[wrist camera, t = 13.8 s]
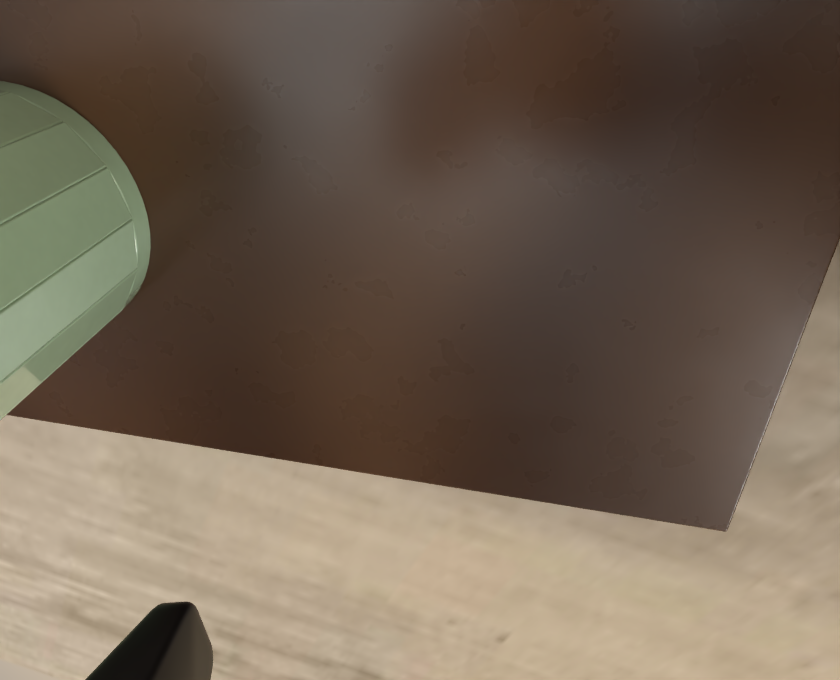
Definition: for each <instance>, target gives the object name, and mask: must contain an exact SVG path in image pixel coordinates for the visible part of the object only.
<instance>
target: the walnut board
mask: <svg viewBox="0 0 840 680" xmlns="http://www.w3.org/2000/svg"><path fill="white" fill-rule="evenodd" d="M0 81H5V82H9V83H14V84H19V85H23V86H26V87H29V88H32V89H35V90H38V91H40V92H42V93H44V94H46V95H49V96H51V97H53V98H55V99H57V100H58V101H60V102H62V103H63V104H65V105H67V106H68V107H70V108H71V109H73V110H74V111H76V112H77V113H78V114H79V115H81V116H82V117H83V118H85V119H86V120H87V121H88V122H90V123H91V124H92V125H93V126H94V127H95V128H96V129H97V130H98V131H99V132H100V133H101V134H102V135H103V136H104V137H105V138H106V139H107V141H108V142H109V143H110V144H111V145H112V146H113V148H114V149H115V150H116V151H117V153H118V154H119V156H120V157H121V158H122V160H123V161H124V163H125V164H126V166H127V167H128V169H129V171H130V173H131V175H132V176H133V178H134V180H135V182H136V184H137V186H138V189H139V191H140V194H141V196H142V199H143V202H144V205H145V209H146V212H147V216H148V221H149V228H150V242H151V249H150V258H149V265H148V268H147V272H146V276H145V278H144V281H143V283H142V285H141V287H140V289H139V291H138V292H137V294H136V295H135V297H134V298H133V300H132V301H131V302H130V303H129V304H128V305H127V306H126V307H125V308H124V309H123V310H122V311H121V312H120V313H119V314H118V315H117V316H116V317H114V318H113V319H112V320H111V321H110V322H109V323H108V324H107V325H106V326H104V327H103V328H102V329H101V330H100V331H99V332H98V333H97V334H96V335H94V336H93V337H92V338H91V339H90V340H89V341H88V342H87V343H86V344H84V345H83V346H82V347H81V348H80V349H79V350H78V351H77V352H76V353H74V354H73V355H72V356H71V357H70V358H69V359H68V360H67V361H66V362H64V363H63V364H62V365H61V366H60V367H59V368H58V369H57V370H56V371H55V372H53V373H52V374H51V375H50V376H49V377H48V378H47V379H46V380H45V381H43V382H42V383H41V384H40V385H39V386H38V387H37V388H36V389H35V390H33V391H32V392H31V393H30V394H29V395H28V396H27V397H26V398H25V399H23V400H22V401H21V402H20V403H19V404H18V405H17V406H16V407H15V408H13V409H12V410H11V411H10V412H9V413H8V414H7V415H11V416H17V417H23V418H29V419H35V420H42V421H48V422H54V423H60V424H66V425H72V426H78V427H85V428H91V429H97V430H103V431H109V432H115V433H122V434H128V435H134V436H140V437H146V438H152V439H159V440H165V441H171V442H177V443H183V444H189V445H195V446H202V447H208V448H214V449H220V450H226V451H232V452H239V453H245V454H251V455H257V456H263V457H269V458H276V459H282V460H288V461H294V462H300V463H306V464H312V465H319V466H325V467H331V468H337V469H343V470H349V471H356V472H362V473H368V474H374V475H380V476H386V477H393V478H399V479H405V480H411V481H417V482H423V483H429V484H436V485H442V486H448V487H454V488H460V489H466V490H473V491H479V492H485V493H491V494H497V495H503V496H509V497H516V498H522V499H528V500H534V501H540V502H546V503H553V504H559V505H565V506H571V507H577V508H583V509H590V510H596V511H602V512H608V513H614V514H620V515H626V516H633V517H639V518H645V519H651V520H657V521H663V522H670V523H676V524H682V525H688V526H694V527H700V528H707V529H713V530H719V531H727V530H728V527H729V525H730V522H731V519H732V517H733V514H734V512H735V509H736V506H737V504H738V501H739V499H740V496H741V493H742V491H743V488H744V486H745V483H746V480H747V478H748V475H749V473H750V470H751V467H752V465H753V462H754V460H755V457H756V454H757V452H758V449H759V447H760V444H761V441H762V439H763V436H764V434H765V431H766V428H767V426H768V423H769V421H770V418H771V415H772V413H773V410H774V408H775V405H776V402H777V400H778V397H779V395H780V392H781V389H782V387H783V384H784V382H785V379H786V376H787V374H788V371H789V369H790V366H791V363H792V361H793V358H794V356H795V353H796V350H797V348H798V345H799V343H800V340H801V337H802V335H803V332H804V330H805V327H806V324H807V322H808V319H809V317H810V314H811V311H812V309H813V306H814V304H815V301H816V298H817V296H818V293H819V291H820V288H821V285H822V283H823V280H824V278H825V275H826V272H827V270H828V267H829V265H830V262H831V259H832V257H833V254H834V252H835V249H836V246H837V244H838V241H839V239H840V0H0Z"/></svg>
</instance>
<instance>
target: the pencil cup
mask: <svg viewBox="0 0 840 680" xmlns="http://www.w3.org/2000/svg"><path fill="white" fill-rule="evenodd" d="M150 249H151V242H150V228H149V221H148V216H147V212H146V209H145V205H144V202H143V199H142V196H141V194H140V191H139V189H138V186H137V184H136V182H135V180H134V178H133V176H132V175H131V173H130V171H129V169H128V167H127V166H126V164H125V163H124V161H123V160H122V158H121V157H120V156H119V154H118V153H117V151H116V150H115V149H114V148H113V146H112V145H111V144H110V143H109V142H108V141H107V139H106V138H105V137H104V136H103V135H102V134H101V133H100V132H99V131H98V130H97V129H96V128H95V127H94V126H93V125H92V124H91V123H90V122H88V121H87V120H86V119H85V118H83V117H82V116H81V115H79V114H78V113H77V112H76V111H74V110H73V109H71V108H70V107H68V106H67V105H65V104H63V103H62V102H60V101H58V100H57V99H55V98H53V97H51V96H49V95H46V94H44V93H42V92H40V91H38V90H35V89H32V88H29V87H26V86H23V85H19V84H14V83H9V82H5V81H0V420H1V419H2V418H3V417H5V416H6V415H7V414H8V413H9V412H10V411H11V410H12V409H13V408H15V407H16V406H17V405H18V404H19V403H20V402H21V401H22V400H23V399H25V398H26V397H27V396H28V395H29V394H30V393H31V392H32V391H33V390H35V389H36V388H37V387H38V386H39V385H40V384H41V383H42V382H43V381H45V380H46V379H47V378H48V377H49V376H50V375H51V374H52V373H53V372H55V371H56V370H57V369H58V368H59V367H60V366H61V365H62V364H63V363H64V362H66V361H67V360H68V359H69V358H70V357H71V356H72V355H73V354H74V353H76V352H77V351H78V350H79V349H80V348H81V347H82V346H83V345H84V344H86V343H87V342H88V341H89V340H90V339H91V338H92V337H93V336H94V335H96V334H97V333H98V332H99V331H100V330H101V329H102V328H103V327H104V326H106V325H107V324H108V323H109V322H110V321H111V320H112V319H113V318H114V317H116V316H117V315H118V314H119V313H120V312H121V311H122V310H123V309H124V308H125V307H126V306H127V305H128V304H129V303H130V302H131V301H132V300H133V298H134V297H135V295H136V294H137V292H138V291H139V289H140V287H141V285H142V283H143V281H144V278H145V276H146V272H147V268H148V265H149V258H150Z"/></svg>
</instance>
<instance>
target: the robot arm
mask: <svg viewBox="0 0 840 680" xmlns="http://www.w3.org/2000/svg"><path fill="white" fill-rule="evenodd" d="M212 666H213V650H212V645H211V642H210V640H209V637H208V635H207V632H206V630H205V627H204V625H203V622H202V620H201V617H200V615H199V613H198V610H197V608H196V606H195V605H194V604H192V603H191V602H174V603H163V604H160V605H158V606H156V607H155V608H154V609H152V610H151V611H150V612H149V614H148V615H147V616H146V617H145V618H144V619H143V620H142V621H141V622H140V623H139V624H138V625H137V626H136V627H135V628H134V629H133V630H132V631H131V632H130V633H129V634H128V636H127V637H126V638H125V639H124V640H123V641H122V642H121V643H120V644H119V645H118V646H117V647H116V648H115V649H114V650H113V651H112V652H111V653H110V654H109V655H108V657H107V658H106V659H105V660H104V661H103V662H102V663H101V664H100V665H99V666H98V667H97V668H96V669H95V670H94V671H93V672H92V673H91V674H90V675H89V676H88V677H87V679H86V680H210V679H211V673H212Z"/></svg>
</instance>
